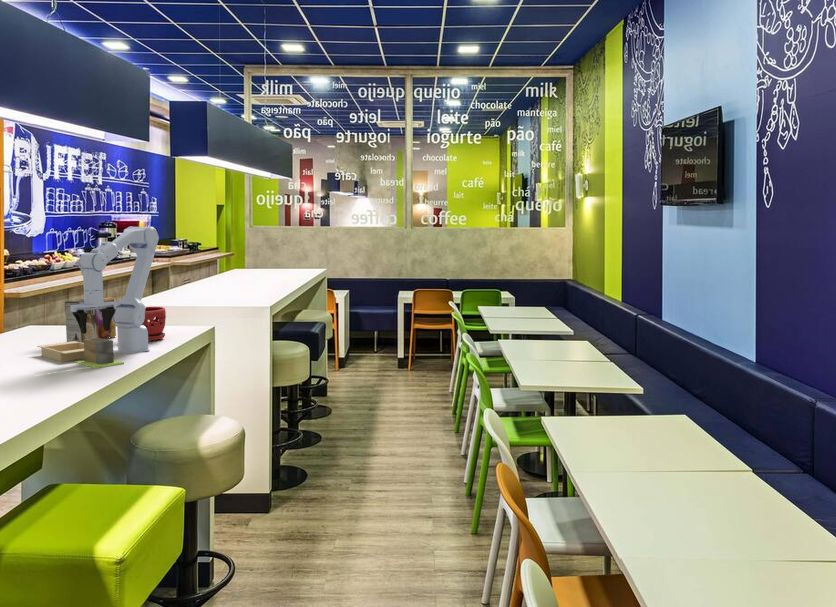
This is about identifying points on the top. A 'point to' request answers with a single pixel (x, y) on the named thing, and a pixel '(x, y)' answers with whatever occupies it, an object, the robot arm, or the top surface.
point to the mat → (94, 365)
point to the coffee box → (73, 326)
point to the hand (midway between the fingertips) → (95, 331)
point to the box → (98, 351)
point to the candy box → (99, 323)
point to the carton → (63, 351)
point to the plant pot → (155, 322)
